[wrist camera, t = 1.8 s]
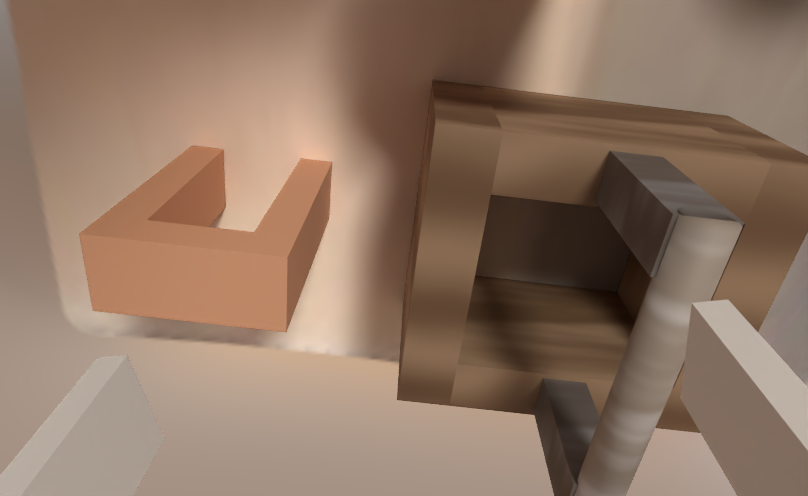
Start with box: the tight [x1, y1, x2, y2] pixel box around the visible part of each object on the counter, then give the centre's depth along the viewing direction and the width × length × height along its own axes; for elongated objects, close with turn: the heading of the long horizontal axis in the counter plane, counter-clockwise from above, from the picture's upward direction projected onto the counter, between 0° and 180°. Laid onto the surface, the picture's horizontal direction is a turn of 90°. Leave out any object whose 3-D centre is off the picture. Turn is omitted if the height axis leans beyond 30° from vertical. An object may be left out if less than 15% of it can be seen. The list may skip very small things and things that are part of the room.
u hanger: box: [79, 146, 332, 332], centre depth 31 cm, size 4×9×13 cm, turn 84°
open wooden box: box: [397, 80, 808, 496], centre depth 29 cm, size 16×18×18 cm
